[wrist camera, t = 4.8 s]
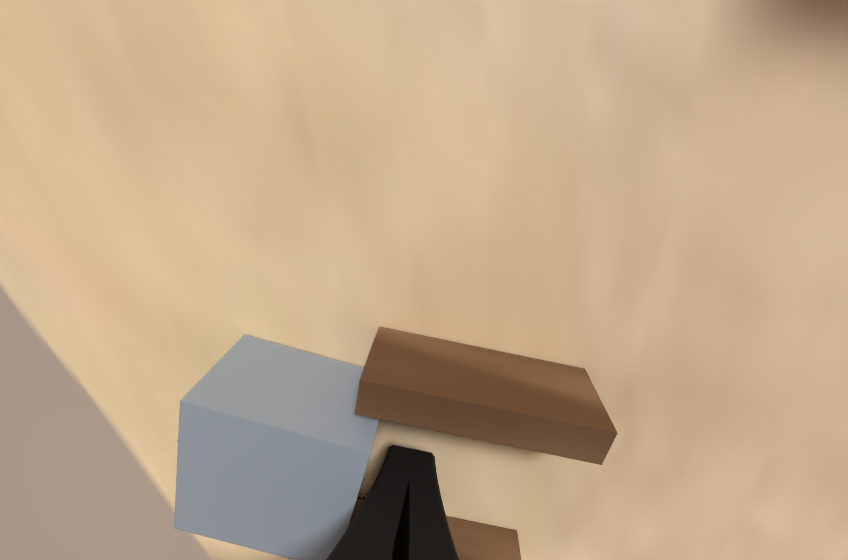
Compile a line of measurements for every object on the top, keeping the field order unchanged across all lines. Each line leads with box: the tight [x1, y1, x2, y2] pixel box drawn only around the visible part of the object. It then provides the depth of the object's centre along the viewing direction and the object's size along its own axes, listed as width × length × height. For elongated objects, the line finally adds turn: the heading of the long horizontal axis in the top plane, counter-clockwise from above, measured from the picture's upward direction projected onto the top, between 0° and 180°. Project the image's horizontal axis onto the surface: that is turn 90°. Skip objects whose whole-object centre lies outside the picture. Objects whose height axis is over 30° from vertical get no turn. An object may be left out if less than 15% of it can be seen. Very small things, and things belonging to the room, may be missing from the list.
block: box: [174, 335, 379, 560], centre depth 11 cm, size 4×4×3 cm
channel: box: [348, 327, 617, 560], centre depth 12 cm, size 8×6×2 cm
